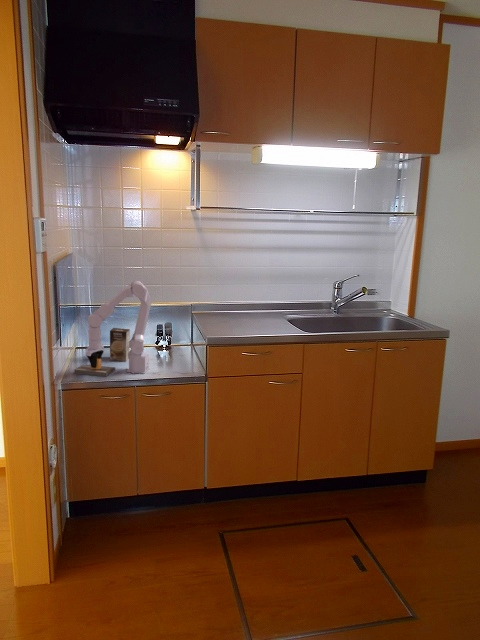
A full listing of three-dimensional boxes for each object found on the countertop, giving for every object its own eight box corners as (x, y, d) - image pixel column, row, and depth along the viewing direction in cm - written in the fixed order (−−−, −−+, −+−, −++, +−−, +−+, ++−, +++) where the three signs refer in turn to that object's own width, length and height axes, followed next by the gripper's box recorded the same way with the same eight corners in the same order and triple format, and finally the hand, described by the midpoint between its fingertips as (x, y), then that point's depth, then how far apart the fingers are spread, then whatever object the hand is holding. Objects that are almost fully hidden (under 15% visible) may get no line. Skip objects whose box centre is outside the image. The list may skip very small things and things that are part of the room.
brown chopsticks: (115, 369, 249) (115, 367, 249) (113, 370, 247) (113, 368, 247) (85, 366, 252) (85, 364, 251) (83, 367, 249) (83, 365, 249)
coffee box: (109, 360, 263) (108, 330, 259) (113, 356, 269) (113, 327, 266) (126, 361, 262) (126, 331, 259) (130, 358, 268) (130, 328, 265)
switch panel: (113, 371, 246) (113, 367, 245) (106, 376, 238) (106, 372, 237) (82, 368, 248) (82, 364, 248) (74, 373, 240) (74, 369, 240)
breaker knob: (101, 367, 244) (101, 358, 243) (98, 369, 241) (98, 360, 240) (93, 366, 244) (93, 358, 243) (90, 368, 241) (90, 359, 240)
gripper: (93, 334, 247) (94, 361, 250) (79, 342, 233) (80, 370, 236) (107, 335, 246) (107, 362, 249) (94, 343, 232) (94, 371, 235)
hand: (95, 366), depth 242 cm, fingers closed on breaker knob, 3 cm apart
